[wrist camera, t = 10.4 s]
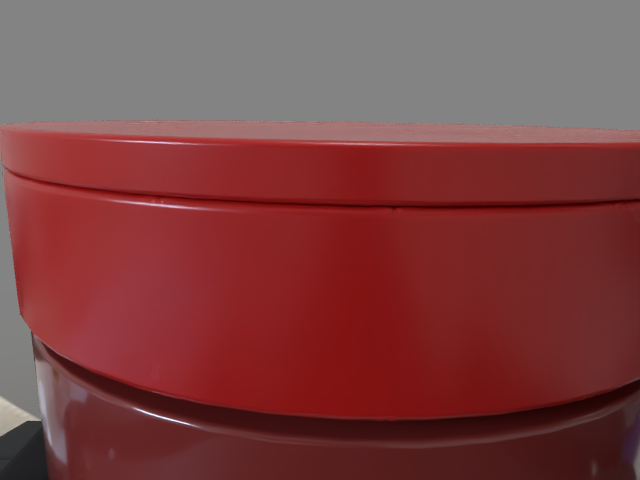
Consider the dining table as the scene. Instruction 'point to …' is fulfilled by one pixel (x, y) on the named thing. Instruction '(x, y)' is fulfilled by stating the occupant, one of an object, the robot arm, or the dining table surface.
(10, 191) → the jam lid
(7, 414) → the dining table surface
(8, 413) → the dining table surface
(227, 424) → the jam jar
